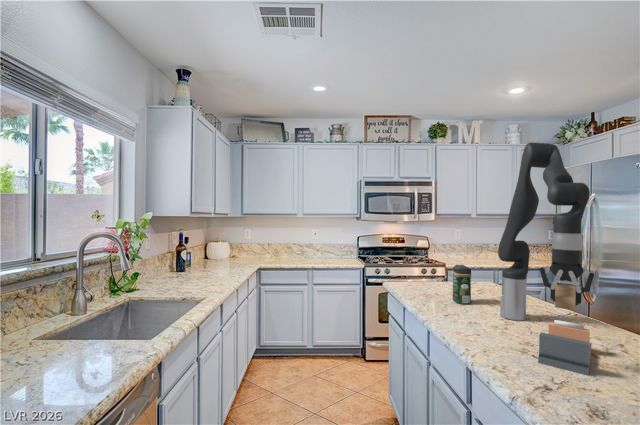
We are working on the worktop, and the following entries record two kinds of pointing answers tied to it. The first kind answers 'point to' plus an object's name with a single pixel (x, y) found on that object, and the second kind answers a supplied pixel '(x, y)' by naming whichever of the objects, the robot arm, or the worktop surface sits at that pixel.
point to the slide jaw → (569, 330)
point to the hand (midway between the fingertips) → (565, 302)
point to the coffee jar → (461, 284)
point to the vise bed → (564, 353)
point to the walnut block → (565, 296)
